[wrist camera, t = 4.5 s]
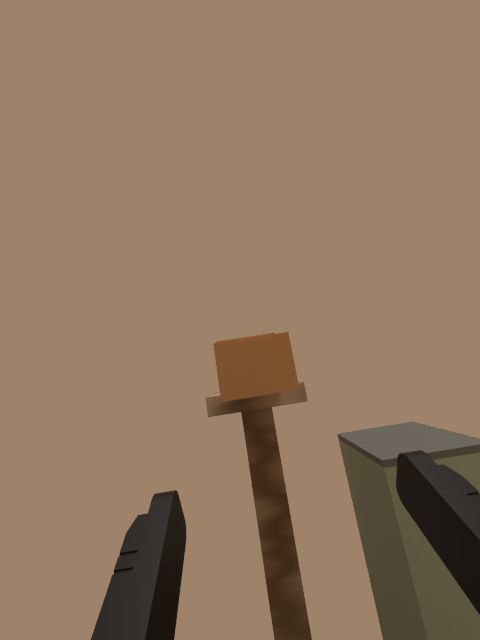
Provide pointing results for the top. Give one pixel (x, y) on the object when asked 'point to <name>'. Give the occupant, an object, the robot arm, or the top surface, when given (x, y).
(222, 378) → the orange wooden block
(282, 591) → the tan table
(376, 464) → the tall grey-green pillar
